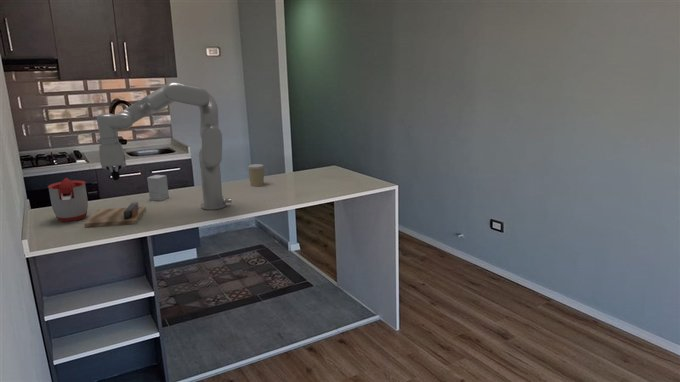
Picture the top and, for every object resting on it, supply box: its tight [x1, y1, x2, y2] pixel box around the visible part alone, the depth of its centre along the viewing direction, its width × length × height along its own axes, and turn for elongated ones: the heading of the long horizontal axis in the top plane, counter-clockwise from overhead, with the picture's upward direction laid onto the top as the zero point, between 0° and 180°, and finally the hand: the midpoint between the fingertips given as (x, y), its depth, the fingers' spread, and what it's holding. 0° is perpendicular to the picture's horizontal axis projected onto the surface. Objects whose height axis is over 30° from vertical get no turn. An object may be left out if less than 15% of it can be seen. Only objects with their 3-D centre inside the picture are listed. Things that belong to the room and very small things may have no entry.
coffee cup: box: [247, 163, 265, 188], centre depth 287 cm, size 9×9×12 cm
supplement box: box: [146, 174, 170, 202], centre depth 259 cm, size 7×7×13 cm
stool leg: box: [123, 201, 140, 219], centre depth 228 cm, size 18×3×3 cm, turn 10°
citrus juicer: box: [47, 177, 89, 223], centre depth 226 cm, size 16×17×20 cm
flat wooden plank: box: [83, 206, 147, 229], centre depth 227 cm, size 22×22×6 cm
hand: (116, 179), depth 225 cm, fingers closed
